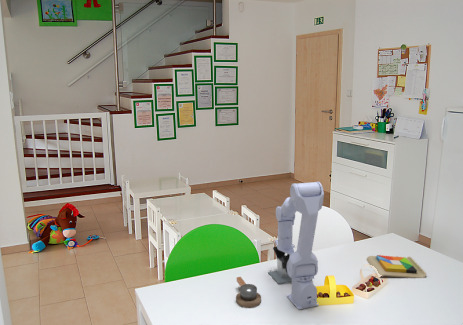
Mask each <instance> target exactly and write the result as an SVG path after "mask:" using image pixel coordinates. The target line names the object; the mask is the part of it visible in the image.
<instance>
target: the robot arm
mask: <svg viewBox="0 0 463 325" xmlns="http://www.w3.org/2000/svg"><path fill="white" fill-rule="evenodd" d="M289 193H290V194H289V195H290V196H289V197H286V198H285V200H284V201H283V203H282V204H281V205H280V206H278V205H277V206H276V208H275V218H276V221H277V239H274V245H275V246H273V247H272V249H273V252H274V253H275V256H276V259H277V258H279V257H283V259H284V262H285V270H286V272H287V273H288V275H289V277H290V278H292V282H291V294H287V295H286V298H288V300H289V301H290V302H291V303H292V304H293V305H294V306H295V307H296V308H297V309H298V310H304V309H308V308H313V307H317V306H319V305H320V304H319V303H318V301H317V298H318V297H317V296H318V289H317V287H316V285H315V284H314V281H313V279H315V276H317V274H318V273H319V266H318V265H319V264H318V263H319V260H318V258H317V256H316V255H315V253H313V252H312V251H313V248H314V240H315V234H316V233H315V232H316V227H317V221H318V215H319V211H321V209H322V208H323V204H324V197H325V192H324V186H323V185H322V183H321V182H320V181H315V182H313V181H312V182H300V183H295V182H294V183H291V186H290V188H289ZM298 212H299V213H300V214H301V219H300V226H299V232H298V239H297V246H295V245H294V244H293V226H294V224H295V220H296V213H298ZM294 248H296V251H295V249H294ZM317 303H318V304H317Z"/></svg>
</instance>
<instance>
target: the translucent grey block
mask: <svg viewBox="0 0 463 325" xmlns="http://www.w3.org/2000/svg"><path fill="white" fill-rule="evenodd" d="M276 263H277V267H276V270H277V274H278V275H279V276H280V277H281V278H287V277H289V275H288V273H287V272H286V270H285V262H284V259H283V257H279V258H277V257H276Z"/></svg>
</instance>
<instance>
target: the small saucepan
mask: <svg viewBox="0 0 463 325" xmlns="http://www.w3.org/2000/svg"><path fill="white" fill-rule="evenodd" d="M236 282H237V284H238V285H239V286H240V287H239V293H240V298H241V299H243V300H246V301H252V300H255V299H256V298H257V293H258V291H257V290H258V287H257V286H256V285H255V284H251V283H246V282H245V280H244V279H243V278H242V277H241V276H237V277H236Z"/></svg>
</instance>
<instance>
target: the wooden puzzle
mask: <svg viewBox="0 0 463 325" xmlns="http://www.w3.org/2000/svg"><path fill="white" fill-rule="evenodd" d="M366 261H367V263H368V265H369V266H370V265H372V266H374V267H375V268H376V269H377V271H378V273H379V274H380V275H382V277H391V278H392V277H393V278H407V279H408V278H409V279H425V278H426V277H427V272H426V271H425V270H424V269H423V268H422V267H421V266H420V264H418V263H417V262H416V260H415V259H413V258H412V257H411V256H407V257H406V256H390V255H382V254H379V255H378V254H377V255H369V256H367V258H366Z"/></svg>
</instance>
